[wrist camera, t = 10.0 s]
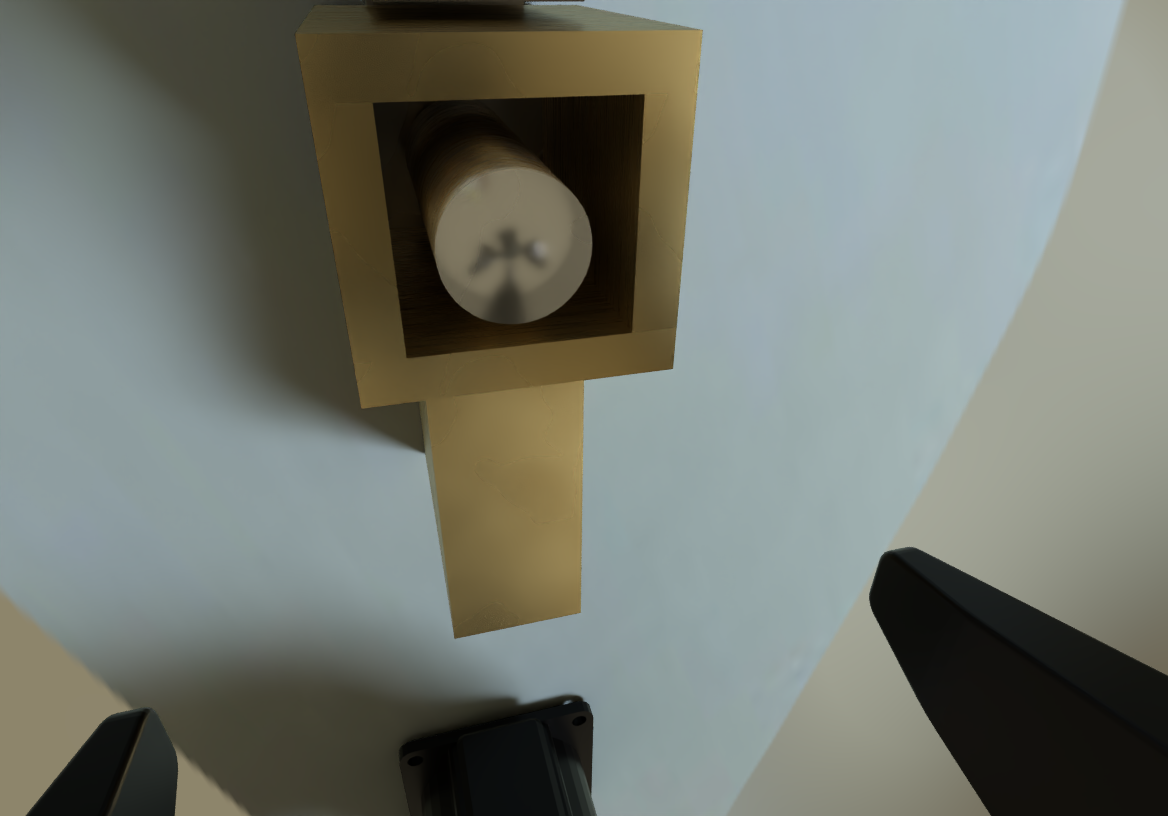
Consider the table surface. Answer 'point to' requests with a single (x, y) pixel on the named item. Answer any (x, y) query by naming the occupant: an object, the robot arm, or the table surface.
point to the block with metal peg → (484, 198)
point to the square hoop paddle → (487, 349)
